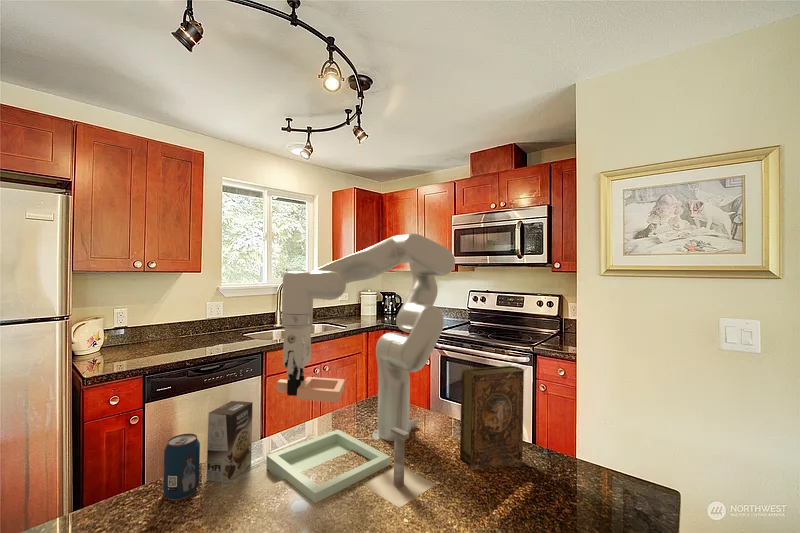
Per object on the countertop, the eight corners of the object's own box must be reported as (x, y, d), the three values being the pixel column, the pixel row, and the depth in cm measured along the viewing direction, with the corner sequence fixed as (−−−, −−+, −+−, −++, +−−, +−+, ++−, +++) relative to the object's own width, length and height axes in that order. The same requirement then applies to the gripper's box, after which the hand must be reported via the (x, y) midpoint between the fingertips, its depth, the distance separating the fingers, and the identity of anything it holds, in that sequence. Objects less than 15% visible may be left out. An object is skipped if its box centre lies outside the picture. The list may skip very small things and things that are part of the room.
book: (512, 456, 102) (514, 365, 102) (525, 466, 97) (527, 370, 97) (459, 465, 97) (461, 369, 97) (470, 476, 91) (471, 375, 92)
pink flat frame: (344, 388, 98) (344, 379, 98) (338, 402, 88) (339, 391, 88) (284, 384, 98) (284, 374, 98) (271, 397, 88) (272, 386, 88)
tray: (337, 441, 109) (338, 429, 109) (389, 470, 93) (390, 456, 93) (266, 469, 93) (266, 455, 93) (314, 510, 78) (315, 493, 78)
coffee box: (229, 484, 86) (230, 415, 86) (205, 480, 88) (206, 412, 88) (252, 464, 95) (253, 401, 95) (230, 461, 97) (231, 399, 97)
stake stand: (398, 470, 93) (399, 416, 94) (435, 491, 85) (436, 431, 85) (361, 490, 85) (362, 430, 85) (399, 515, 77) (400, 449, 77)
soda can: (176, 483, 87) (177, 431, 87) (205, 484, 86) (206, 432, 86) (155, 501, 80) (156, 445, 80) (187, 503, 79) (188, 447, 79)
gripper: (304, 325, 85) (302, 405, 85) (318, 316, 101) (317, 383, 101) (271, 324, 85) (269, 404, 85) (291, 315, 101) (289, 383, 101)
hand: (295, 392), depth 93 cm, fingers closed on pink flat frame, 2 cm apart
